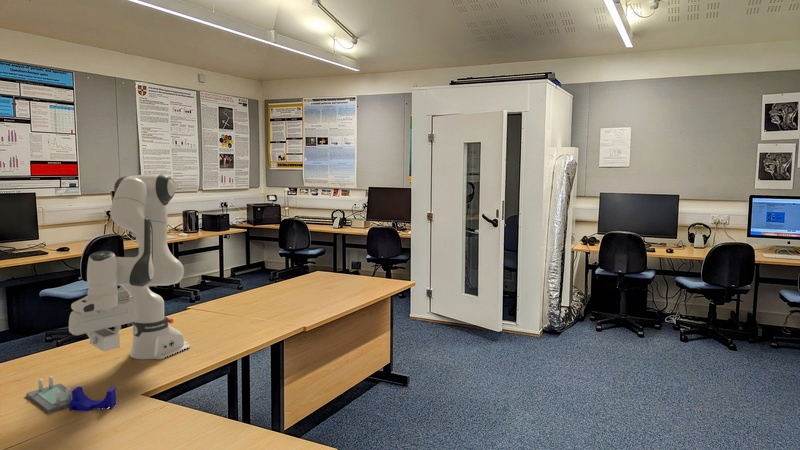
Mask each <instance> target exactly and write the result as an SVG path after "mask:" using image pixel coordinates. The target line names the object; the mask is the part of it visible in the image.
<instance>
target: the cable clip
mask: <svg viewBox="0 0 800 450" xmlns="http://www.w3.org/2000/svg"><path fill="white" fill-rule="evenodd" d="M71 391H72V400H71V401H70V406H69V411H73V412H75V411H76V412H77V411H79V412H91V410H93V409H92V408H96V409H95V410H98V409H97V408H100V409H99V410H112V408H113V407H114V406H115V405H116V406H117V387H114V386H112V387H110V388H109V389H107V391H106V393H105V394H106V395H105V397H104V398H102V399H92V398H90V397H88V396H87V395H86V393H85V392H84V389H83V386H79V385H78V386H76V387H75V388H74V389H72V390H71ZM116 406H115V407H116ZM108 407H110V408H109V409H107V408H108ZM102 408H103V409H102ZM81 410H82V411H81Z"/></svg>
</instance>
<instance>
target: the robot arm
mask: <svg viewBox="0 0 800 450" xmlns="http://www.w3.org/2000/svg"><path fill="white" fill-rule="evenodd" d="M175 185H176V184H175V182H174V180H173V179H172V177H171V176H170V175H165V174H151V173H150V174H138V175H130V176H129V175H125V176H121V177H119V178H118V179H117V180H116V181H115V184H114V186H113V187H114V188H113V189H114V196H113V198H112V203H111V207H110V212H109V213H110V218H111V219H112V221H113V222H114V224H116V225H117V226H118V227H120V228H121V229H123V230H125V231H128V232H131V233H133V234H135V242H136V244H137V245H138V254H137V256H134V257H131V256H127V257H126V256H116V254H115V252H114V251H110V250H109V251H108V250H100V251H96V252H93V253H91V254H90V255H89V256H88V260H87V268H86V282H87V285H88V290H87V295H86V296H84V297H82V298H79V299H78V300H76V301H74V302H72V303H71V305H70V308H71V310H72V311H71V312H70V313H69V319H68V331H69V333H70V334H72V335H74V336H80V335H85V334H86V335H87V337H88V338H89V339H90V338H91V344H96V343H98V338H96V337H93V334H94V331H98V330H102V329H106V328H107V329H110V328H114V330H113V332H115V333H117V334H119V332H120V330H121V329H122V325H127V324H131V323H132V329H131V330H132V336H133V337H132V343H131V347H130V351H129V356H130V358H133V359H136V360H163V359H165V357H166V358H168V357H170V355H171V356H173V355H175V353H176V354H178V353H181V352H183V351H185V350H184V349H186V350H188V349H190V348H191V347H190V343H189V342H187V341H186V340H184V336H183V333H182V332H181V331H179V330H178V329H176V328H174V327H173V326H172V325H171V324H173V323H174V319H173V318H172V317H167V316H165V300H164V299H163V297H162V296H161V295H160V294H157V293H155V292H154V291H152V290H151V289H150V288H149V286H161V287H163V286H171V285H175V284H179V282H181V280H182V279H183V278H184V273H185V269H184V265H183V263H182V262H181V261H180V260H179V259H178V258H176V257H175V256H174V255H173V254H172V252H171V251H170V249H169V246H168V235H167V234H168V233H167V232H168V208H167V205H168V204H169V202H170V201H171V200H172V199H173V197H174V196H175V192H176V186H175ZM118 286H121V287H122V288H123V290H125V291H126V292H127V294H128V295H126V296H121V297H119V289H118ZM91 344H90V345H91ZM189 347H190V348H189ZM187 348H188V349H187ZM182 350H183V351H182ZM180 351H181V352H180ZM177 352H178V353H177ZM172 354H173V355H172ZM167 356H168V357H167Z"/></svg>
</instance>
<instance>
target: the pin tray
mask: <svg viewBox="0 0 800 450" xmlns="http://www.w3.org/2000/svg"><path fill="white" fill-rule="evenodd" d="M37 383H38V386H37V387H38V389H36V390H33V391H29V392H27V393H25V394H26V397H27V398H28V399H29V400H31V402H34V403H35V404H36V405H37V406H38V407H40V408H41V410H43V411H45V412H46V413H48V414H50V413H52V412H53V413H54V412H57V411H59V410H63V409H65V408H70V401H71V400H72V390H71V388H70V387H66V386H65V385H64V384H62V383H56V384H54V376H52V375H51V376H48V386H45V387H44V379H42V378H40V379H38V380H37Z"/></svg>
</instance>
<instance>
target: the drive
mask: <svg viewBox="0 0 800 450" xmlns="http://www.w3.org/2000/svg"><path fill="white" fill-rule="evenodd" d="M93 337H96V338H98V343H96V344H91V338H90V337H89V344H90V346H93V347H95V348H97V349H98V350H101V351H102V352H109V351H112V350H116V349H118V348H120V346H121V343H120V334H119V333H118V334H117V333H115V332H114V330H111V329H110V328H106V329H102V330H98V331H94V334H93Z"/></svg>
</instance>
